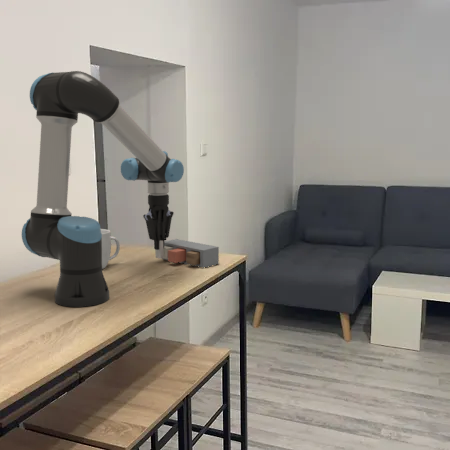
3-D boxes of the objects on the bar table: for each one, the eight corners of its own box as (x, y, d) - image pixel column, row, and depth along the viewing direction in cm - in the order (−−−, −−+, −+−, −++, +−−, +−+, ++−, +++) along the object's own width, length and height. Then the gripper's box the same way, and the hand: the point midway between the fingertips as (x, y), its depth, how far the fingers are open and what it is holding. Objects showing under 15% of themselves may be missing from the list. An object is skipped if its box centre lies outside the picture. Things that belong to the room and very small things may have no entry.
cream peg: (166, 259, 204) (166, 248, 204) (159, 257, 207) (159, 246, 206) (184, 255, 211) (184, 244, 210) (176, 253, 214) (176, 243, 213)
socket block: (203, 268, 196) (203, 250, 195) (161, 258, 211) (161, 241, 209) (218, 264, 202) (218, 246, 201) (176, 255, 216) (176, 238, 215)
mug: (112, 261, 206) (111, 226, 204) (127, 266, 198) (126, 230, 196) (74, 267, 197) (73, 230, 195) (88, 273, 189) (87, 235, 186)
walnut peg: (194, 265, 195) (194, 253, 195) (186, 263, 198) (186, 252, 197) (211, 260, 202) (211, 249, 201) (203, 259, 205) (203, 248, 204)
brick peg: (175, 263, 198) (175, 252, 198) (168, 261, 201) (168, 250, 200) (193, 258, 205) (193, 248, 204) (185, 257, 208) (185, 246, 207)
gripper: (151, 196, 193) (152, 262, 197) (178, 193, 203) (179, 256, 207) (137, 194, 198) (139, 259, 202) (164, 191, 208) (165, 253, 212)
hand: (159, 257), depth 204 cm, fingers closed
